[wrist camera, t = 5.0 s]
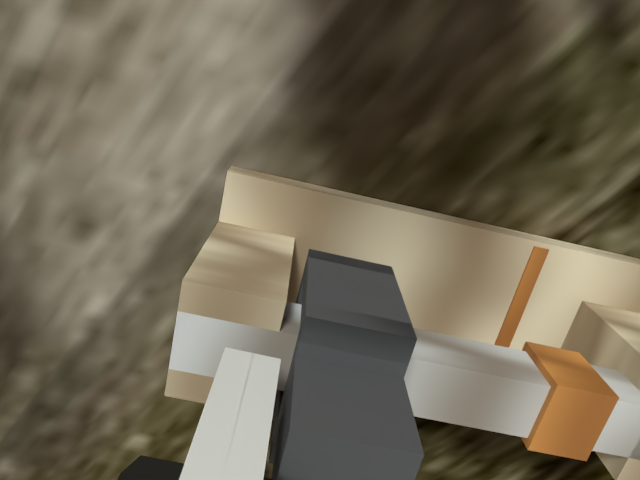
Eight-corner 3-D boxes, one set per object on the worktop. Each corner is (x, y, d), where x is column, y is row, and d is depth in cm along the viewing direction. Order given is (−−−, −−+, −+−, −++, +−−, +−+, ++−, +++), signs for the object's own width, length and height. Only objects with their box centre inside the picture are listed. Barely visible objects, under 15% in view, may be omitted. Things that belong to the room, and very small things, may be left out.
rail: (200, 340, 22) (154, 452, 16) (231, 165, 20) (190, 216, 13) (580, 415, 24) (676, 546, 17) (656, 262, 21) (801, 350, 15)
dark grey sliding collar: (280, 365, 19) (257, 551, 12) (308, 248, 18) (302, 381, 10) (356, 381, 19) (379, 572, 12) (391, 266, 18) (441, 408, 11)
